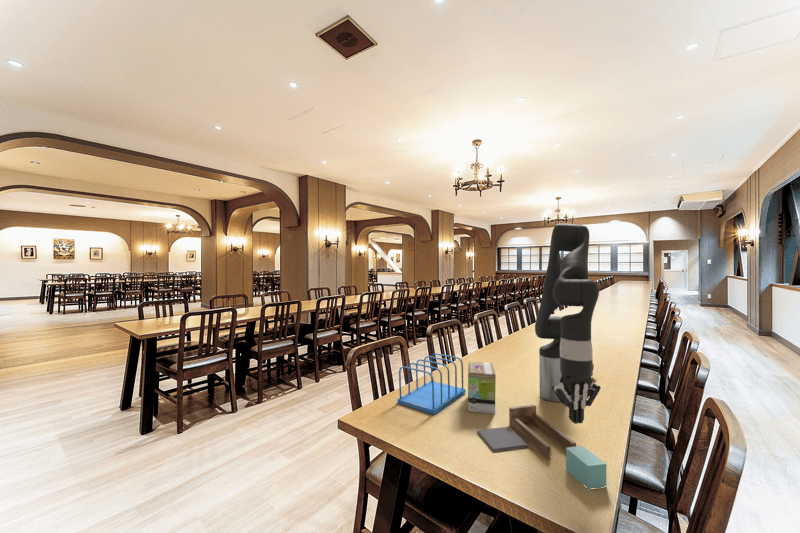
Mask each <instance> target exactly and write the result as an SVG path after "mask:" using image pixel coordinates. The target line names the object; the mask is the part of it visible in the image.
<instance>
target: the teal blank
mask: <svg viewBox="0 0 800 533" xmlns="http://www.w3.org/2000/svg"><path fill="white" fill-rule="evenodd" d="M565 471H567V472H568V474H570V475H571V476H572V477H573V478H574V477H575V478H576V479H577V482H579V481H580V482H581V483H582V484H583V485H585V486H586V487H587V488H588V489H591V488H601V487H604V486H606V487H607V463H606V462H605V461H603V460H602V459H600V458H599V457H598V456H597V455H595V454H594V452H592V451H590V450H589V449H588V448H586V447H585V446H584V445H579V446H577V445H576V447H568V448H566V450H565ZM575 478H574V479H575ZM576 479H575V480H576ZM580 482H579V483H580ZM581 483H580V484H581ZM582 484H581V485H582ZM583 485H582V486H583Z"/></svg>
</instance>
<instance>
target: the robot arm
mask: <svg viewBox="0 0 800 533" xmlns="http://www.w3.org/2000/svg"><path fill="white" fill-rule="evenodd" d="M550 237H551V239H550V246H549V254H548V263H547V268H546V272H545V277H544V282H543V286H542V292H541V293H542V294H541V300H540V304H539V309H538V312H537V315H536V320H535V324H534V332H535V335H536V337H537V338H539V339H543V340H544V339H545V340H552V341H551V342H549V343H548V344H545V345H542V346H540V347H539V349H538V350H539V352H538V353H539V356H538V358H539V367H538V368H539V369H538V370H539V397H540V398H541V399H543V400H545V401H547V402H548V401H549V402H553V403H554V402H555V403H556V402H560V403H561V404H562V405H563V406H565V407H567V408H568V418H569V420H570V422H572V423H573V424H575V425H577V424H583V422H584V420H585V409H586V407H591V406H592V404H593V402H594V401H595V399H596V398H597V396H598V395H599V393H600V391H601V386H600V385H598V384H596V383H595V382H593V378H592V376H593V371H594V369H593V365H594V363H593V361H594V360H593V355H594V354H593V344H592V320H593V316H594V312H595V307H596V305H597V302H598V299H599V296H600V288H599V286H598V284H597V283H596V282H595V281H594V280H592V279H589V269H588V257H589V256H588V255H589V247H590V230H589V228H588V227H587V226H586V225H583V224H576V223H575V224H572V223H571V224H570V223H557V224H555V225H554V227H553V229H552V232H551V236H550ZM560 252H566V253H567V254H566V255H565V256H563V258H562V257H561V253H560ZM561 306H564V307H582V309H581V311H579V312H577V313H572V314H567V315H563V316H559V315H558V316H557V315H556V316H555V315H552V314H553V312H555V311H556V310H557V309H558V308H560V307H561Z"/></svg>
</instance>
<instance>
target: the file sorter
mask: <svg viewBox="0 0 800 533" xmlns="http://www.w3.org/2000/svg"><path fill="white" fill-rule="evenodd" d="M434 355H435V356H434ZM436 355H437V356H442V357H448V358H453V359H456V360H459V362H460V364H461V366H460V367H461V368H460V369H461V387H459V386H458V381H457V380H458V377H457V376H458V373H457V370H458V369H457V365H456V363H455V361H453V360H450V359H446V358H442V357H437V356H436ZM428 358H429V359H430V360H428ZM433 359H434V360H440V361H446V362H450V363H452V364H453V365H454V377H455V378H454V380H455V381H454V385H450V384H451V382H450V369H449V367H448V366H447V365H446V364H445V363H442V362H437V361H433ZM419 362H423V364H422V363H419ZM426 363H430V365H426ZM433 364H434V365H440V366H443V367H444V368H446V370H447V384H446V383H443V374H442V371H441V369H439V368H438V367H435V366H433ZM463 364H464V363H463V360H462V359H461V358H460V357H458V356H453V355H447V354H443V353H439V352H437V353H436V352H435V353H432V354H431V355H427V356H425V357H424V359H421V358H420V359H418V360H416V362H409V364H408V366H401V367H400V368H399V369H398V370H399V371H398V383H399V384H398V385H399V386H398V388H399V397H398V398H397V404H399V405H402V406H403V405H404V406H406V407H409V408H412V409H416V410H419V411H422V412H424V413H428V414H431V415H436V414H438V413H439V412H440V411H442V410H443V409H444V408H446V407H447V406H449V405H450V404H451V403H453V402H454V401H456V400H457V399H459V398H460V397H462V396H463V395H465V393H466V389H465V388H464V365H463ZM411 365H414V366H415V368H413V367H411ZM418 366H419V367H423V370H421V369H419V368H418ZM426 368H429V369H430V372H429V371H427V370H426ZM402 369H407V377H408V378H407V379H408V380H407V384H408V385H407V387H408V388H407V389H408V390H407V391H408V392H407V393H406V394H404V395H402V382H401V381H402V379H401V378H402V376H401V371H402ZM410 370H412V371H415V378H416V379H415V384H416V389H413V390H411V380H410V376H411V375H410V373H411V372H410ZM433 370H437V371H438V373H439V376H440V377H439V378H440V381H439V382H437V381H434V376H433ZM418 372H421V373H423V385H421V386H419V376H418V374H419V373H418ZM426 374H427V375H429V376H430V381H428V382H427V383H426ZM466 394H467V393H466Z"/></svg>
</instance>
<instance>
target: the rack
mask: <svg viewBox="0 0 800 533" xmlns="http://www.w3.org/2000/svg"><path fill="white" fill-rule="evenodd" d="M508 408H509V409H508V410H509V411H508V415H509V416H508V417H509V420H508V421H509V422H508V423H509V427H510V428H511V429H512V430H513V431H514V430H515V431H516V432H517V434H519V436H521V437H522V438H523V440H525V441H527V442H526V443H528V444H529V445H530V446H532V448H534V449H535V450H536V451H537V452H538V453H539V454H540V455H541V456H542V457H543V458H545V459H546V460H551V446H550V444H548V443H547V442H546V441H545V440H544V439H542V438H541V437H540V436H539V435H538V434H537V433H536V432H534V431H533V430H532V429H531V428H529V427H528V425H534V426H535V427H536V428H537V429H539V430H540V431H542V432H543V434H545V435H546V436H547V437H549V439H551V440H552V441H553V442H554V443H556V444H558V446H559V447H560V448H562V449H564V451H566V448H568V447H577V442H576V441H574V440H573V439H571V437H568V435H566V434H565V433H564V432H562V431H561V430H560V429H558V428H557V427H555V425H552V424H551V423H550V422H549V421H547V420H546V419H544V418H543V417H542V416H540V415H539V414H538V413H537V406H536V404H529V405H528V404H527V405H519V406H509V407H508Z"/></svg>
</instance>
